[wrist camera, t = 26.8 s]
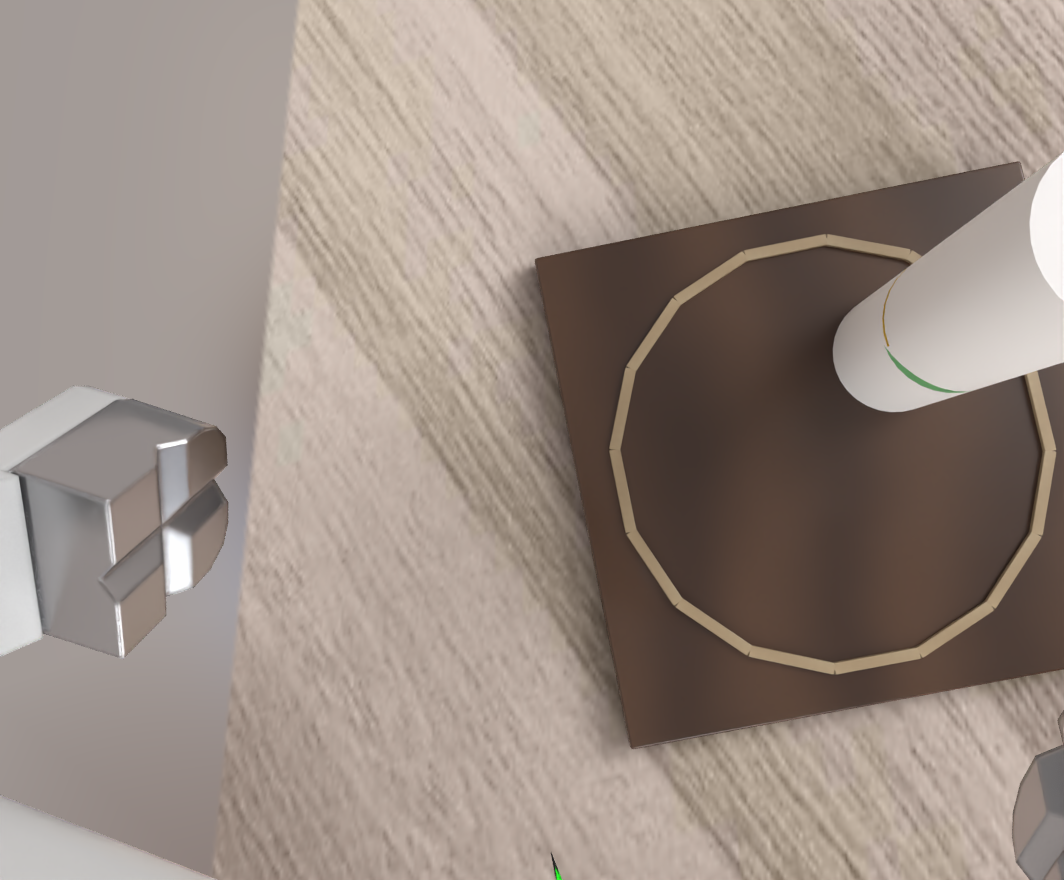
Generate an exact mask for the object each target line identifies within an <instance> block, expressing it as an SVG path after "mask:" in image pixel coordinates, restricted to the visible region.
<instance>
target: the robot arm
mask: <svg viewBox="0 0 1064 880" xmlns="http://www.w3.org/2000/svg"><path fill="white" fill-rule="evenodd" d="M226 466H227V449H226V437H225V435H224V434H223V433H222V432H221V431H220V430H219V429H218V428H217V427H216V426H214V425H211V424H207V423H205V422H202V421H198V420H195V419H192V418H189V417H186V416H183V415H180V414H177V413H174V412H171V411H167V410H164V409H161V408H158V407H155V406H152V405H149V404H146V403H143V402H140V401H137V400H134V399H128V398H126V397H124V396H121V395H117V394H114V393H111V392H108V391H104V390H101V389H98V388H94V387H91V386H72V387H71V388H69V389H67V390H66V391H64V392H62V393H60V394H59V395H57V396H56V397H54V398H52V399H50V400H49V401H47V402H45V403H44V404H42V405H40V406H39V407H37V408H35V409H34V410H32V411H31V412H28V413H27V414H25V415H24V416H22V417H20V418H18V419H17V420H15V421H13V422H12V423H10V424H8V425H6V426H5V427H3V428H1V429H0V656H3V655H5V654H7V653H10V652H12V651H14V650H17V649H19V648H21V647H24V646H26V645H28V644H31V643H33V642H35V641H38V640H40V639H42V638H43V634H46V635H50V636H53V637H56V638H59V639H62V640H65V641H69V642H72V643H75V644H78V645H81V646H84V647H87V648H90V649H94V650H96V651H100V652H103V653H106V654H109V655H112V656H115V657H119V658H122V659H123V658H124V657H126V656H127V655H128V653H130V651H132V650H133V648H134V647H136V645H138V643H139V642H140V641H141V640H142V639H143V638H144V637H145V636H146V635H147V634H148V633H149V632H150V631H151V630H152V629H153V628H154V627H155V626H156V625H157V624H158V623H159V622H160V621H161V620H162V619H163V618H164V617H165V616H166V597H167V596H170V595H173V594H176V593H179V592H182V591H185V590H188V589H191V588H194V587H195V586H196V585H197V584H198V582H199V581H200V580H201V579H202V578H203V577H204V576H205V575H206V574H207V573H208V572H209V571H210V569H211V568H212V565H213V563H214V562H215V560H216V558H217V556H218V554H219V552H220V550H221V548H222V546H223V544H224V539H225V535H226V530H227V525H228V501H227V499H226V498H225V497H224V494H223V493H222V491H221V490H220V488H219V486H218V485H217V483H216V481H215V480H214V479H215V478H216V477H217V476H218V475H219V474H220V472H222V471H223V469H224V468H225V467H226ZM1058 725H1059V729H1060V733H1061V737H1062V741H1063V745H1061V746H1059V747H1056V748H1054V749H1051V750H1049V751H1046V752H1044V753H1041V754H1039V755H1037V756H1035V758H1034V759H1033V761H1032V763H1031V765H1030V767H1029V768H1028V770H1027V772H1026V774H1025V776H1024V777H1023V779H1022V781H1021V783H1020V787H1019V791H1018V794H1017V798H1016V802H1015V806H1014V810H1013V826H1012V839H1013V846H1014V852H1015V859H1016V863H1017V864H1018V865H1019V867H1020V868H1021V869H1022V870H1023V872H1024V873H1025V874H1026V876H1027V877H1028V878H1029V879H1030V880H1064V711H1063V712H1062V714H1061V715H1060V717H1059V719H1058ZM0 880H217V879H215V878H212V877H210V876H207V875H205V874H202V873H199V872H197V871H194V870H192V869H189V868H186V867H184V866H181V865H179V864H176V863H174V862H171V861H169V860H166V859H164V858H161V857H158V856H156V855H153V854H151V853H148V852H146V851H143V850H141V849H138V848H135V847H133V846H130V845H128V844H125V843H122V842H120V841H117V840H115V839H112V838H110V837H107V836H104V835H102V834H99V833H97V832H94V831H92V830H89V829H87V828H84V827H81V826H79V825H77V824H74V823H71V822H69V821H66V820H63V819H61V818H58V817H56V816H53V815H51V814H48V813H46V812H43V811H41V810H38V809H36V808H33V807H30V806H28V805H25V804H23V803H20V802H18V801H15V800H12V799H10V798H7V797H5V796H2V795H0Z"/></svg>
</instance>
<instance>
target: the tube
mask: <svg viewBox="0 0 1064 880" xmlns="http://www.w3.org/2000/svg"><path fill="white" fill-rule="evenodd" d="M833 361H834V365H835V369H836V372H837V375H838V377H839V379H840V381H841V383H842V384H843V385H844V387H845V388H846V390H847V391H848V392H849V393H850V394H851V395H852V396H853V397H854V398H856V399H857V400H858V401H860V402H862V403H863V404H865V405H866V406H869V407H871V408H874V409H877V410H880V411H887V412H904V411H908V410H913V409H916V408H919V407H923V406H926V405H929V404H932V403H935V402H939V401H942V400H945V399H948V398H951V397H954V396H958V395H961V394H964V393H967V392H970V391H974V390H977V389H980V388H983V387H986V386H990V385H993V384H996V383H999V382H1002V381H1005V380H1009V379H1012V378H1015V377H1018V376H1021V375H1025V374H1028V373H1031V372H1034V371H1037V370H1040V369H1044V368H1047V367H1050V366H1053V365H1056V364H1060V363H1063V362H1064V151H1063V152H1062V153H1061V154H1059V155H1058V156H1057V157H1055V158H1054V159H1053V160H1051V161H1050V162H1049V163H1047V164H1046V165H1045V166H1043V167H1042V168H1041V169H1039V170H1038V171H1037V172H1035V173H1034V174H1032V175H1031V176H1030V177H1028V178H1027V179H1026V180H1024V181H1023V182H1022V183H1020V184H1019V185H1018V186H1016V187H1015V188H1014V189H1012V190H1011V191H1010V192H1008V193H1007V194H1006V195H1004V196H1003V197H1002V198H1000V199H999V200H998V201H996V202H995V203H993V204H992V205H991V206H989V207H988V208H987V209H985V210H984V211H983V212H981V213H980V214H979V215H977V216H976V217H975V218H973V219H972V220H971V221H969V222H968V223H967V224H965V225H964V226H963V227H961V228H960V229H959V230H957V231H956V232H954V233H953V234H952V235H950V236H949V237H948V238H946V239H945V240H944V241H942V242H941V243H940V244H938V245H937V246H936V247H934V248H933V249H932V250H930V251H929V252H928V253H926V254H925V255H924V256H922V257H921V258H920V259H918V260H917V261H916V262H914V263H913V264H912V265H910V266H909V267H908V268H907V269H905V270H904V271H902V272H901V273H900V274H898V275H897V276H896V277H894V278H893V279H892V280H890V281H889V282H888V283H886V284H885V285H884V286H882V287H881V288H879V289H878V290H877V291H875V292H874V293H873V294H871V295H870V296H869V297H867V298H866V299H865V300H863V301H862V302H861V303H859V304H858V305H857V306H855V307H854V308H853V309H852V310H851V311H850V312H849V313H848V314H847V315H846V316H845V317H844V319H843V320H842V322H841V324H840V325H839V327H838V330H837V332H836V335H835V338H834V344H833Z"/></svg>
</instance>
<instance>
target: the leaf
mask: <svg viewBox="0 0 1064 880" xmlns="http://www.w3.org/2000/svg"><path fill="white" fill-rule="evenodd" d="M551 856H552V853H551ZM552 861H553V865H554V870H555V875H556V879H557V880H562V879H561V876H560V873H559V871H558V868H557V866H556V863H555V861H554V858H553V856H552Z"/></svg>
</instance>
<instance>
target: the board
mask: <svg viewBox="0 0 1064 880" xmlns="http://www.w3.org/2000/svg"><path fill="white" fill-rule="evenodd" d="M1024 180H1025V179H1024V175H1023V171H1022V167H1021V163H1020V162H1013V163H1008V164H1003V165H998V166H993V167H988V168H983V169H978V170H973V171H968V172H963V173H958V174H953V175H948V176H943V177H938V178H933V179H928V180H923V181H918V182H913V183H908V184H903V185H898V186H893V187H888V188H883V189H878V190H873V191H868V192H863V193H858V194H853V195H849V196H844V197H839V198H834V199H829V200H824V201H819V202H814V203H809V204H804V205H799V206H794V207H789V208H784V209H779V210H774V211H769V212H764V213H759V214H754V215H749V216H744V217H739V218H734V219H729V220H724V221H719V222H714V223H709V224H704V225H699V226H694V227H689V228H684V229H679V230H674V231H670V232H665V233H660V234H655V235H650V236H645V237H640V238H635V239H630V240H625V241H620V242H615V243H610V244H605V245H600V246H595V247H590V248H585V249H580V250H575V251H570V252H565V253H560V254H555V255H550V256H545V257H540V258H536V259H535V266H536V271H537V276H538V281H539V286H540V291H541V296H542V302H543V307H544V312H545V317H546V322H547V327H548V332H549V337H550V342H551V347H552V352H553V357H554V363H555V368H556V373H557V378H558V383H559V388H560V393H561V398H562V403H563V408H564V413H565V418H566V424H567V429H568V434H569V439H570V444H571V449H572V454H573V459H574V464H575V469H576V474H577V479H578V485H579V490H580V495H581V500H582V505H583V510H584V515H585V520H586V525H587V530H588V535H589V540H590V546H591V551H592V556H593V561H594V566H595V571H596V576H597V581H598V586H599V591H600V596H601V601H602V607H603V612H604V617H605V622H606V627H607V632H608V637H609V642H610V647H611V652H612V657H613V662H614V667H615V673H616V678H617V683H618V688H619V693H620V698H621V703H622V708H623V713H624V718H625V723H626V728H627V734H628V739H629V743H630V747H631V749H637V748H643V747H648V746H654V745H659V744H664V743H670V742H675V741H680V740H686V739H691V738H696V737H702V736H707V735H713V734H718V733H723V732H729V731H734V730H739V729H745V728H750V727H756V726H761V725H766V724H772V723H777V722H782V721H788V720H793V719H799V718H804V717H809V716H815V715H820V714H825V713H831V712H836V711H842V710H847V709H852V708H858V707H863V706H868V705H874V704H879V703H885V702H890V701H895V700H901V699H906V698H911V697H917V696H922V695H928V694H933V693H938V692H944V691H949V690H954V689H960V688H965V687H971V686H976V685H981V684H987V683H992V682H997V681H1003V680H1008V679H1014V678H1019V677H1024V676H1030V675H1035V674H1040V673H1046V672H1051V671H1056V670H1062V669H1064V362H1063V363H1060V364H1056V365H1053V366H1050V367H1047V368H1044V369H1040V370H1037V371H1034V372H1031V373H1028V374H1025V375H1021V376H1018V377H1015V378H1012V379H1009V380H1005V381H1002V382H999V383H996V384H993V385H990V386H986V387H983V388H980V389H977V390H974V391H970V392H967V393H964V394H961V395H958V396H954V397H951V398H948V399H945V400H942V401H939V402H935V403H932V404H929V405H926V406H923V407H919V408H916V409H913V410H908V411H904V412H887V411H880V410H877V409H874V408H871V407H869V406H866V405H865V404H863V403H862V402H860V401H858V400H857V399H856V398H854V397H853V396H852V395H851V394H850V393H849V392H848V391H847V390H846V388H845V387H844V385H843V384H842V383H841V381H840V379H839V377H838V375H837V372H836V369H835V365H834V361H833V344H834V338H835V335H836V332H837V330H838V327H839V325H840V324H841V322H842V320H843V319H844V317H845V316H846V315H847V314H848V313H849V312H850V311H851V310H852V309H853V308H854V307H855V306H857V305H858V304H859V303H861V302H862V301H863V300H865V299H866V298H867V297H869V296H870V295H871V294H873V293H874V292H875V291H877V290H878V289H879V288H881V287H882V286H884V285H885V284H886V283H888V282H889V281H890V280H892V279H893V278H894V277H896V276H897V275H898V274H900V273H901V272H902V271H904V270H905V269H907V268H908V267H909V266H910V265H912V264H913V263H914V262H916V261H917V260H918V259H920V258H921V257H922V256H924V255H925V254H926V253H928V252H929V251H930V250H932V249H933V248H934V247H936V246H937V245H938V244H940V243H941V242H942V241H944V240H945V239H946V238H948V237H949V236H950V235H952V234H953V233H954V232H956V231H957V230H959V229H960V228H961V227H963V226H964V225H965V224H967V223H968V222H969V221H971V220H972V219H973V218H975V217H976V216H977V215H979V214H980V213H981V212H983V211H984V210H985V209H987V208H988V207H989V206H991V205H992V204H993V203H995V202H996V201H998V200H999V199H1000V198H1002V197H1003V196H1004V195H1006V194H1007V193H1008V192H1010V191H1011V190H1012V189H1014V188H1015V187H1016V186H1018V185H1019V184H1020V183H1022V182H1023V181H1024Z"/></svg>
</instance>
